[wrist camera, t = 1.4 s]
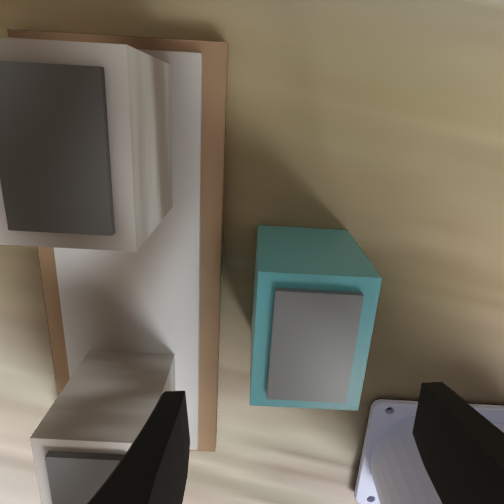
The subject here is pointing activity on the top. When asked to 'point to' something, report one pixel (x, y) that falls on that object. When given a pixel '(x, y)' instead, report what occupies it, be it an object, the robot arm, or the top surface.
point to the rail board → (116, 234)
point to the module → (311, 318)
